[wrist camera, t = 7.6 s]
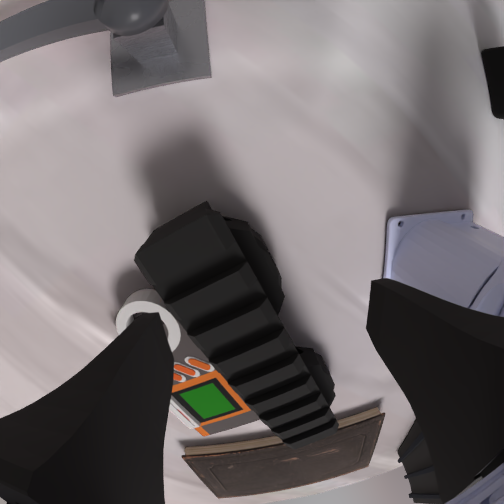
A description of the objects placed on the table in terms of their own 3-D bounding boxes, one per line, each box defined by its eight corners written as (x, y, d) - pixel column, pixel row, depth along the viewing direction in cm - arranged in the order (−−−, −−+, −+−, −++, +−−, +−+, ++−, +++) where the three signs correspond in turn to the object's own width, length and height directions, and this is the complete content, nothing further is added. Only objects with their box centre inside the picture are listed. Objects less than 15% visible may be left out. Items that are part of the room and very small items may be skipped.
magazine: (447, 403, 28) (468, 492, 18) (407, 423, 38) (424, 493, 27) (426, 413, 28) (447, 505, 18) (389, 430, 37) (405, 502, 27)
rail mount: (336, 387, 25) (353, 425, 21) (277, 413, 26) (285, 452, 21) (233, 183, 18) (237, 197, 13) (145, 231, 18) (122, 261, 13)
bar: (163, 33, 9) (155, 18, 8) (-57, 99, 7) (-74, 99, 6) (173, -17, 8) (168, -36, 6) (-49, 58, 6) (-65, 56, 4)
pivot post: (204, -1, 13) (199, -43, 8) (211, 77, 15) (207, 51, 10) (113, 19, 12) (83, -12, 7) (116, 96, 14) (79, 83, 10)
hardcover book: (182, 441, 27) (181, 457, 25) (377, 400, 28) (385, 414, 26) (218, 487, 33) (218, 499, 31) (363, 456, 34) (368, 467, 32)
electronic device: (164, 286, 17) (267, 422, 22) (172, 268, 20) (264, 399, 25) (89, 324, 18) (201, 442, 22) (103, 305, 20) (202, 419, 25)
